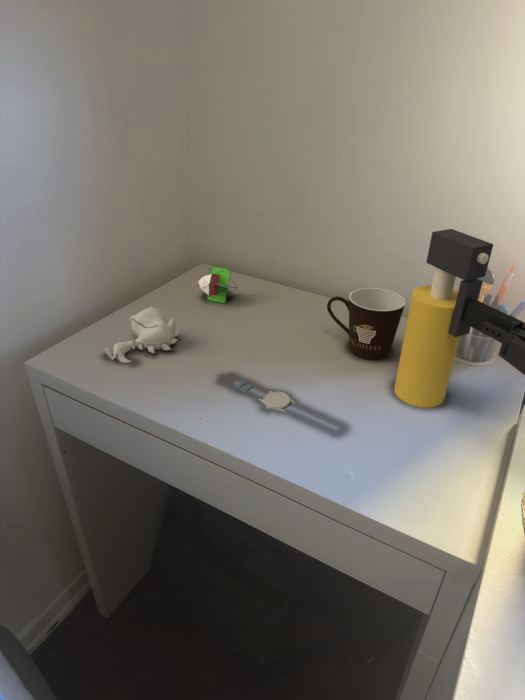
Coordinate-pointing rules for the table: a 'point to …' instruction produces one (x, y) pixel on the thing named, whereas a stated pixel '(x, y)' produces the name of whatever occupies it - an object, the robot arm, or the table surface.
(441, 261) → the spray bottle
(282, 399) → the wristwatch
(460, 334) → the trigger
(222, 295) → the geometric puzzle
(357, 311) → the coffee mug
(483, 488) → the table surface
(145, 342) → the toy character
